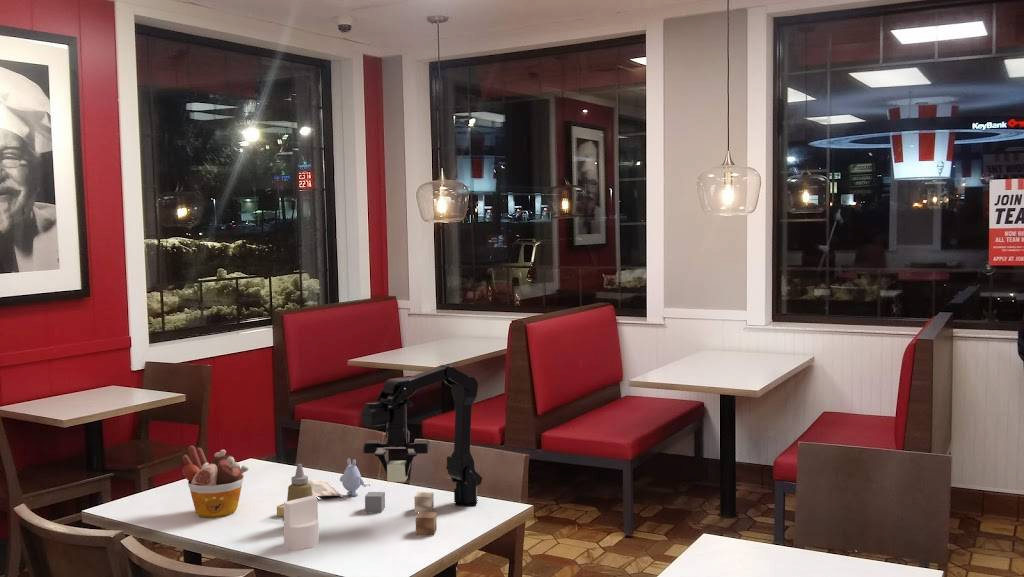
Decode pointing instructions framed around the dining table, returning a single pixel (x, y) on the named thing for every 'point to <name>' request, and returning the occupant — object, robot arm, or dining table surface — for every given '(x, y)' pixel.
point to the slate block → (374, 502)
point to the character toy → (280, 510)
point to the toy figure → (351, 478)
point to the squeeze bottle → (299, 485)
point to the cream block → (424, 501)
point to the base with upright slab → (301, 523)
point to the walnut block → (426, 523)
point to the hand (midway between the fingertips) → (397, 476)
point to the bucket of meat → (213, 482)
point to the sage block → (396, 471)
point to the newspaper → (323, 489)
